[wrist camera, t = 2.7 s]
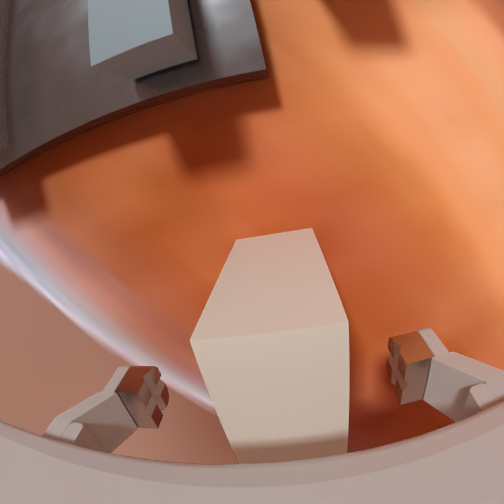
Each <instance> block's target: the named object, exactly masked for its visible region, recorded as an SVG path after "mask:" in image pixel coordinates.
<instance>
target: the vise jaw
mask: <svg viewBox="0 0 504 504" xmlns="http://www.w3.org/2000/svg"><path fill="white" fill-rule="evenodd" d="M88 29H89V48H90V61H91V67H93V68H96V69H99V70H101V71H104V72H107V73H110V74H112V75H115V76H118V77H120V78H123V79H126V80H128V81H131V80H134V79H137V78H139V77H142V76H145V75H148V74H151V73H153V72H156V71H159V70H162V69H165V68H168V67H172V66H175V65H178V64H181V63H185V62H188V61H192V60H195V59H198V58H197V52H196V47H195V41H194V36H193V30H192V25H191V19H190V14H189V8H188V2H187V0H88Z"/></svg>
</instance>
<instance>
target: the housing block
mask: <svg viewBox="0 0 504 504" xmlns="http://www.w3.org/2000/svg"><path fill="white" fill-rule="evenodd" d="M190 343H191V346H192V349H193V352H194V354H195V357H196V360H197V363H198V365H199V368H200V371H201V374H202V376H203V379H204V382H205V384H206V387H207V390H208V392H209V395H210V397H211V400H212V402H213V405H214V407H215V410H216V412H217V415H218V417H219V419H220V422H221V424H222V427H223V429H224V431H225V434H226V436H227V439H228V441H229V443H230V445H231V448H232V450H233V452H234V454H235V457H236V459H237V461H238V463H239V464H259V463H276V462H288V461H298V460H307V459H315V458H322V457H328V456H335V455H340V454H346V453H347V446H348V426H349V380H350V373H349V325H348V319H347V316H346V314H345V311H344V308H343V306H342V303H341V300H340V297H339V295H338V292H337V289H336V287H335V284H334V282H333V279H332V276H331V274H330V271H329V269H328V266H327V264H326V261H325V259H324V256H323V254H322V251H321V249H320V246H319V244H318V241H317V239H316V236H315V234H314V232H313V229H312V228H309V229H303V230H296V231H290V232H283V233H277V234H270V235H264V236H258V237H251V238H245V239H239V240H236V242H235V244H234V246H233V248H232V250H231V252H230V254H229V256H228V259H227V261H226V263H225V265H224V267H223V269H222V271H221V273H220V276H219V278H218V280H217V282H216V284H215V286H214V288H213V291H212V293H211V295H210V297H209V299H208V301H207V303H206V306H205V308H204V310H203V312H202V314H201V317H200V319H199V321H198V323H197V325H196V327H195V330H194V332H193V334H192V336H191V338H190Z"/></svg>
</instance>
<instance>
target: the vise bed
mask: <svg viewBox="0 0 504 504" xmlns="http://www.w3.org/2000/svg"><path fill="white" fill-rule="evenodd" d="M187 2H188V8H189V14H190V19H191V25H192V30H193V36H194V41H195V47H196V52H197V58H198V59H195V60H192V61H188V62H185V63H181V64H178V65H175V66H172V67H168V68H165V69H162V70H159V71H156V72H153V73H151V74H148V75H145V76H142V77H139V78H137V79H134V80H131V81H128V80H126V79H123V78H120V77H118V76H115V75H112V74H110V73H107V72H104V71H101V70H99V69H96V68H93V67H91V61H90V48H89V29H88V0H0V176H1V175H2V174H4V173H6V172H7V171H9V170H11V169H12V168H14V167H16V166H18V165H19V164H21V163H23V162H25V161H27V160H28V159H30V158H32V157H34V156H36V155H38V154H40V153H42V152H43V151H45V150H47V149H49V148H51V147H53V146H55V145H57V144H60V143H62V142H64V141H66V140H68V139H70V138H72V137H74V136H77V135H79V134H81V133H83V132H86V131H88V130H90V129H93V128H95V127H97V126H100V125H102V124H105V123H107V122H110V121H112V120H115V119H118V118H120V117H123V116H126V115H128V114H131V113H134V112H137V111H140V110H143V109H145V108H148V107H152V106H155V105H158V104H161V103H164V102H167V101H171V100H174V99H177V98H181V97H184V96H188V95H192V94H195V93H199V92H203V91H207V90H211V89H215V88H220V87H224V86H228V85H233V84H238V83H243V82H248V81H253V80H258V79H264V78H268V77H267V70H266V66H265V61H264V57H263V52H262V48H261V44H260V39H259V35H258V31H257V27H256V23H255V19H254V15H253V11H252V7H251V3H250V0H187Z"/></svg>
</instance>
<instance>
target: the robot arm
mask: <svg viewBox="0 0 504 504" xmlns="http://www.w3.org/2000/svg"><path fill="white" fill-rule="evenodd" d="M388 349H389V351H390V355H389V356H388V357H387V371H388V376H389V379H390V381H391V383H392V384H394V385H396V386H395V393H396V396H397V398H398V400H399V403H400V405H402V404H406V403H410V402H414V401H418V400H421V399H423V400H424V401H425V402H427V403H428V404H430V405H431V406H433V407H434V408H436V409H437V410H439V411H440V412H442V413H443V414H445V415H446V416H447V417H449V418H450V419H452V420H453V421H455V422H456V423H453V424H450V425H448V426H445V427H442V428H439V429H437V430H434V431H431V432H428V433H425V434H422V435H419V436H415V437H412V438H409V439H405V440H402V441H398V442H395V443H391V444H387V445H383V446H379V447H375V448H370V449H366V450H361V451H356V452H351V453H346V454H340V455H335V456H328V457H322V458H315V459H307V460H298V461H288V462H276V463H259V464H197V463H181V462H180V463H179V462H169V461H159V460H150V459H143V458H135V457H129V456H122V455H117V454H112V453H111V452H112V451H113V450H115V449H116V448H117V447H118V446H119V445H120V444H122V443H123V442H124V441H125V440H126V439H127V438H128V437H129V436H131V435H132V434H133V433H134V432H135V431H136V430H137V429H138V428H157V429H158V427H159V425H160V422H161V420H162V417H163V415H162V412H161V411H162V410H164V409H165V408H166V407H167V405H168V402H169V401H168V400H169V393H168V389H167V386H166V384H165V383H164V382H162V381H161V380H160V377H161V373H160V371H159V369H158V368H157V367H155V366H120V367H118V369H117V370H116V372H115V373H114V375H113V376H112V378H111V379H110V381H109V382H108V384H107V385H106V387H105V388H104V390H103V391H102V392H98V393H96V394H94V395H92V396H91V397H89V398H87V399H86V400H84V401H82V402H81V403H79V404H77V405H75V406H74V407H72V408H70V409H69V410H67V411H65V412H63V413H62V414H60V415H58V416H56V417H55V418H54V419H53V421H52V423H51V424H50V425H49V427H48V428H47V430H46V431H45V432H44V434H43V435H42V436H41V435H38V434H35V433H32V432H29V431H26V430H24V429H21V428H18V427H16V426H13V425H10V424H8V423H5V422H3V421H0V504H504V370H501V369H498V368H495V367H493V366H490V365H487V364H485V363H482V362H479V361H477V360H474V359H471V358H469V357H466V356H463V355H461V354H458V353H456V352H450V353H449V351H448V350H447V349H446V347H445V346H444V345H443V343H442V342H441V341H440V339H439V338H438V337H437V336H436V334H435V333H434V332H433V330H432V329H431V328H429V327H427V328H424V329H420V330H417V331H415V332H411V333H407V334H403V335H399V336H395V337H391V338H389V341H388Z"/></svg>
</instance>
